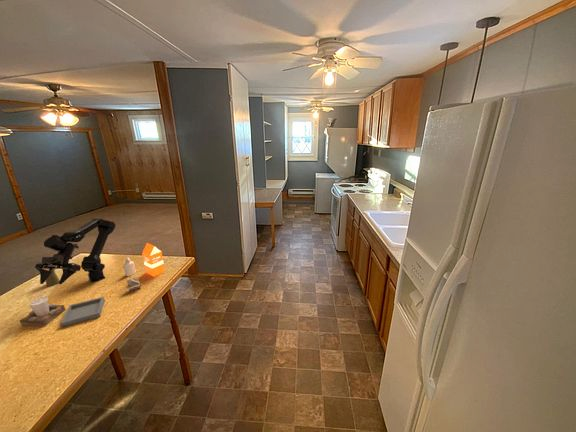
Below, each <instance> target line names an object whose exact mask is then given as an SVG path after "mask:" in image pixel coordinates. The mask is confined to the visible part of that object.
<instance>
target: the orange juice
mask: <svg viewBox="0 0 576 432" xmlns="http://www.w3.org/2000/svg"><path fill="white" fill-rule="evenodd" d="M142 258H143V264H144V265H143V266H144V268H145V273H146V274H147V275H150V276H151V277H154V278H155V277H157V276H159V275H161V274H164V273H165V271H166V269H165V263H164V258H163V252H162V250H160V249H158V247H156V246H155V245H153V244H151V243H148V242H147V243H146V244H145V247H144V248H143V251H142Z"/></svg>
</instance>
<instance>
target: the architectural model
mask: <svg viewBox="0 0 576 432" xmlns="http://www.w3.org/2000/svg"><path fill="white" fill-rule="evenodd" d="M126 284H127V285H126V286H125V290H128V291H133V290H136V291H137V290H138V289H142V288H141V284H140V281H139V277H138V276H136V277H132V278H129V279H126Z"/></svg>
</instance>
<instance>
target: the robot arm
mask: <svg viewBox="0 0 576 432" xmlns="http://www.w3.org/2000/svg"><path fill="white" fill-rule="evenodd" d="M96 228H97V231H98V234H97V236H96V239H95V242H94V244H93V246H92V249H91V251H90V252H89V253H90V254H88V255H87V256H85V255H84V257H83V258H82V261H81V262H80V264H81V265H80V264H77V263H74V262H70V260H73V256H72V255H73V254H74V251H75V249H80V247H79V245H78V243H79V242H82V240H84V238H85V236H86V235H87V234H88V233H89V232H92V231H94V229H96ZM115 229H116V223H115V222H114V221H109V220H106V219H104V218H92V219H91V220H90V221H88V222H86V223H85V224H82V225H81V226H79V227H78V228H76V229H69V230H68V231H66V232H63V234H62V235H60V236H59V235H57V234H52V235H51V236H50V237H48V238H47V239H45V240H44V242H43V246H44V247H45V248H47V249H50V250H53V251H55V252H57V253H54V254H53V255H52V256H42V257H41V262H38V263H36V264H35V266H34V269H36V271H38V272H39V277H40V279H39V283H40V285H43V284H44V283H46V280H47V278H48V277H49V275H50V274H51V273H52V271H51V270H53V269H55V270H62V274H61V277H60V278H59V280H60V281H59V284H58V285H62V284H63V283H64V282H65V281H67V280H68V279H69V278H70V277H71V276H73V275H74V274H76V273H77V272H81V271H80V270H81V269H82V270H83V271H84V272H87V277H88V280H89V281H90V282H91V283H95V282H98V281H102V280H103V279H106V276H105V275H104V271H103V270H104V269H105V266H106V265H105V264H104V263H102V260H101V254H102V251H103V250H104V248H105V245H106V242H107V240H108V237H109V235H111V234H113V232H114V231H115Z"/></svg>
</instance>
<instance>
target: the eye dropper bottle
mask: <svg viewBox="0 0 576 432" xmlns="http://www.w3.org/2000/svg"><path fill="white" fill-rule="evenodd" d="M124 262H125V263H124V264H123V269H124V274H125V276H126V277H129V276H130V277H131V276H132V275H135V274H136V273H137V272H136V266H135V262H134V261H133V260H132V261H131V258H129V257H128V256H126V259H125V261H124Z"/></svg>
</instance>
